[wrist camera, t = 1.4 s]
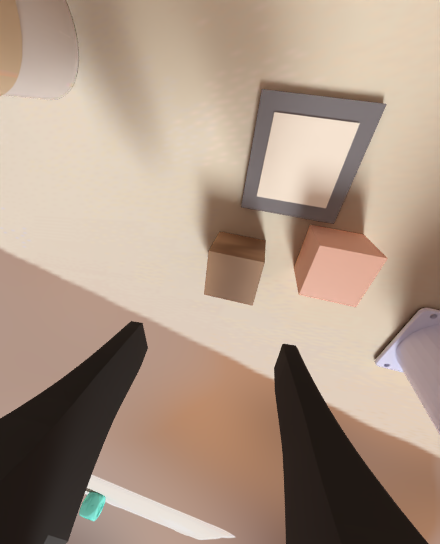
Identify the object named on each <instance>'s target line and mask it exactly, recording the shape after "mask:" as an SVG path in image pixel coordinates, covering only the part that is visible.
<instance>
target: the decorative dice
mask: <svg viewBox="0 0 440 544" xmlns="http://www.w3.org/2000/svg"><path fill="white" fill-rule="evenodd" d="M104 504H105V497H104V496H103V495H101V494H99V493H96V492H90V493H89V494H88V495H87V496H86V498H85V499H84V501H83V503H82V506H81V508H80V512H79V515H80V516H82V517H84V518H86V519H89V520H92V521H95V520H96V519H97V518H98V517H99V515H100V513H101V511H102V509H103V507H104Z"/></svg>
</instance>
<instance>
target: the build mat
mask: <svg viewBox="0 0 440 544" xmlns="http://www.w3.org/2000/svg"><path fill="white" fill-rule="evenodd" d="M385 107H386V104H383V103H374V102H366V101H358V100H349V99H341V98H332V97H324V96H316V95H307V94H299V93H291V92H282V91H274V90H265V89H262V92H261V98H260V103H259V109H258V115H257V120H256V126H255V132H254V137H253V143H252V149H251V154H250V160H249V166H248V171H247V177H246V183H245V188H244V194H243V200H242V205H241V207H243V208H249V209H254V210H260V211H265V212H271V213H277V214H282V215H288V216H293V217H299V218H304V219H310V220H315V221H321V222H326V223H332V224H334V223H335V220H336V218H337V216H338V214H339V211H340V209H341V207H342V205H343V202H344V200H345V198H346V195H347V193H348V191H349V189H350V186H351V184H352V182H353V179H354V177H355V175H356V173H357V170H358V168H359V166H360V164H361V161H362V159H363V157H364V154H365V152H366V150H367V148H368V145H369V143H370V141H371V139H372V136H373V134H374V132H375V129H376V127H377V125H378V123H379V120H380V118H381V116H382V114H383V111H384V109H385Z"/></svg>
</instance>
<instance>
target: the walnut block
mask: <svg viewBox="0 0 440 544" xmlns="http://www.w3.org/2000/svg"><path fill="white" fill-rule="evenodd" d="M265 243H266V240H261V239H255V238H250V237H245V236H240V235H235V234H230V233H225V232H219V234H218V235H217V237H216V239H215V241H214V242H213V244H212V246H211V248H210V249H209V253H208V262H207V271H206V281H205V290H204V294H205V295H209V296H213V297H218V298H222V299H226V300H231V301H235V302H239V303H244V304H248V305H252V306H253V302H254V299H255V295H256V291H257V288H258V284H259V281H260V277H261V274H262V270H263V266H264V263H265Z"/></svg>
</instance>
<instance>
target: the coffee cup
mask: <svg viewBox="0 0 440 544" xmlns="http://www.w3.org/2000/svg"><path fill="white" fill-rule="evenodd" d="M78 61H79V53H78V42H77V36H76V31H75V27H74V23H73V19H72V16H71V13H70V10H69V8H68V5H67V3H66V1H65V0H0V96H1V95H3V96H13V97H24V98H34V99H45V100H56V99H60V98H62V97H64V96H65V95H66V94H67V93H68V92H69V91H70V90H71V88H72V86H73V84H74V82H75V79H76V76H77V71H78Z"/></svg>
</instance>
